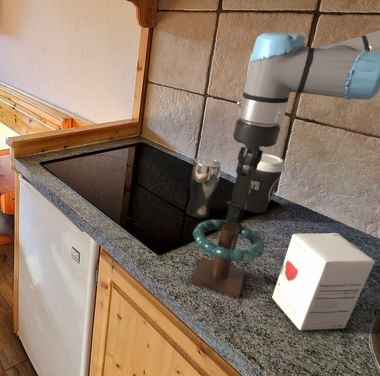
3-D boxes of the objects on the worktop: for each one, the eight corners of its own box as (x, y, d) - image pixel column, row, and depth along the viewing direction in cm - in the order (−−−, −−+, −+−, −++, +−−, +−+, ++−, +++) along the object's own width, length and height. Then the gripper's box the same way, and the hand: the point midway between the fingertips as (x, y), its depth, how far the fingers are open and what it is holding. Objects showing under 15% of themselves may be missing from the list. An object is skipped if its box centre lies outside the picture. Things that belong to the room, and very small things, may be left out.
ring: (264, 237, 84) (267, 229, 83) (259, 271, 73) (262, 262, 73) (199, 220, 89) (201, 212, 88) (186, 249, 79) (188, 241, 78)
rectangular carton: (269, 297, 80) (290, 232, 74) (312, 296, 81) (337, 231, 74) (298, 331, 72) (325, 261, 65) (346, 329, 72) (377, 260, 66)
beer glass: (178, 209, 113) (188, 159, 106) (197, 204, 116) (207, 155, 109) (197, 221, 107) (208, 168, 101) (216, 215, 110) (228, 164, 104)
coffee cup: (244, 197, 121) (257, 149, 115) (278, 208, 115) (292, 159, 108) (229, 206, 115) (240, 156, 109) (262, 219, 109) (277, 167, 103)
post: (244, 274, 86) (258, 225, 81) (238, 298, 79) (253, 246, 74) (200, 261, 90) (211, 213, 85) (191, 283, 83) (202, 232, 78)
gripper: (242, 110, 83) (218, 211, 93) (231, 127, 71) (205, 241, 81) (283, 115, 80) (254, 219, 90) (279, 135, 68) (246, 252, 78)
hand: (231, 229), depth 85 cm, fingers closed on ring, 2 cm apart
